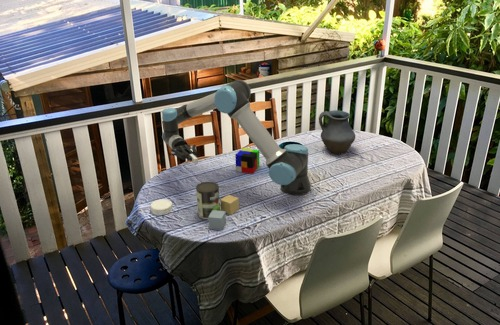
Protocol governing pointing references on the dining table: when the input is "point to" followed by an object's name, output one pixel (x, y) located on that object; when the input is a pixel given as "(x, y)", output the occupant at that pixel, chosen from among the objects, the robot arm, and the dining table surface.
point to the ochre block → (229, 204)
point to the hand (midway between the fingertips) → (196, 161)
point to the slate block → (217, 220)
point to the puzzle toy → (247, 160)
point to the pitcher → (336, 131)
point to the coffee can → (207, 198)
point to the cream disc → (161, 207)
